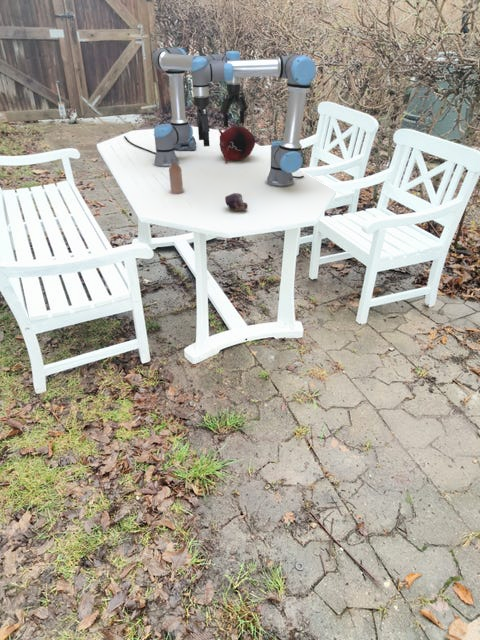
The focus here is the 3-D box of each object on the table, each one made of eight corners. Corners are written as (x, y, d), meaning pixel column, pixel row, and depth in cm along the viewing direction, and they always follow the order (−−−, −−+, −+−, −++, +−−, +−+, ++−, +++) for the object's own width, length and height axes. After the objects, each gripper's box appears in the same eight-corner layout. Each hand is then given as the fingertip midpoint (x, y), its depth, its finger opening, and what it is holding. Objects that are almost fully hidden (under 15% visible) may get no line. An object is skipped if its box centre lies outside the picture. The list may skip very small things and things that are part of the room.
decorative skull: (216, 132, 306) (216, 129, 283) (250, 124, 306) (252, 120, 282) (223, 164, 313) (223, 164, 290) (256, 156, 312) (259, 156, 289)
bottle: (175, 189, 252) (172, 156, 242) (185, 190, 250) (182, 157, 240) (168, 192, 247) (165, 159, 237) (179, 194, 245) (176, 161, 235)
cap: (173, 160, 241) (172, 156, 240) (179, 161, 240) (179, 157, 239) (169, 162, 238) (168, 158, 237) (175, 162, 237) (175, 159, 236)
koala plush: (196, 150, 320) (194, 121, 309) (171, 151, 319) (168, 122, 308) (196, 145, 335) (194, 116, 324) (172, 145, 334) (169, 117, 322)
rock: (239, 207, 231) (221, 210, 227) (238, 190, 228) (220, 192, 223) (250, 210, 222) (232, 213, 218) (249, 193, 218) (231, 195, 214)
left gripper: (222, 86, 238) (223, 129, 250) (253, 82, 253) (253, 122, 265) (212, 85, 242) (214, 127, 254) (243, 80, 257) (243, 120, 269)
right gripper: (189, 93, 223) (192, 138, 235) (197, 101, 203) (201, 149, 215) (204, 92, 225) (206, 136, 237) (214, 99, 205) (216, 148, 217)
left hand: (234, 125), depth 259 cm, fingers open, 13 cm apart
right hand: (204, 143), depth 226 cm, fingers open, 13 cm apart
